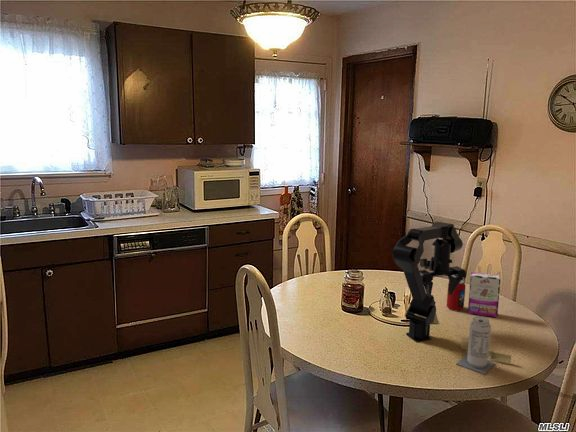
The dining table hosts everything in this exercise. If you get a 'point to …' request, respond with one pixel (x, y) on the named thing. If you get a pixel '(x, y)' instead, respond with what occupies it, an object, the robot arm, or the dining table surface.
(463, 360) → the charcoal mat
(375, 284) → the dining table surface
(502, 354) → the zigzag wooden bar
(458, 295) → the beverage can
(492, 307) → the candy bar box
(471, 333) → the energy drink can
